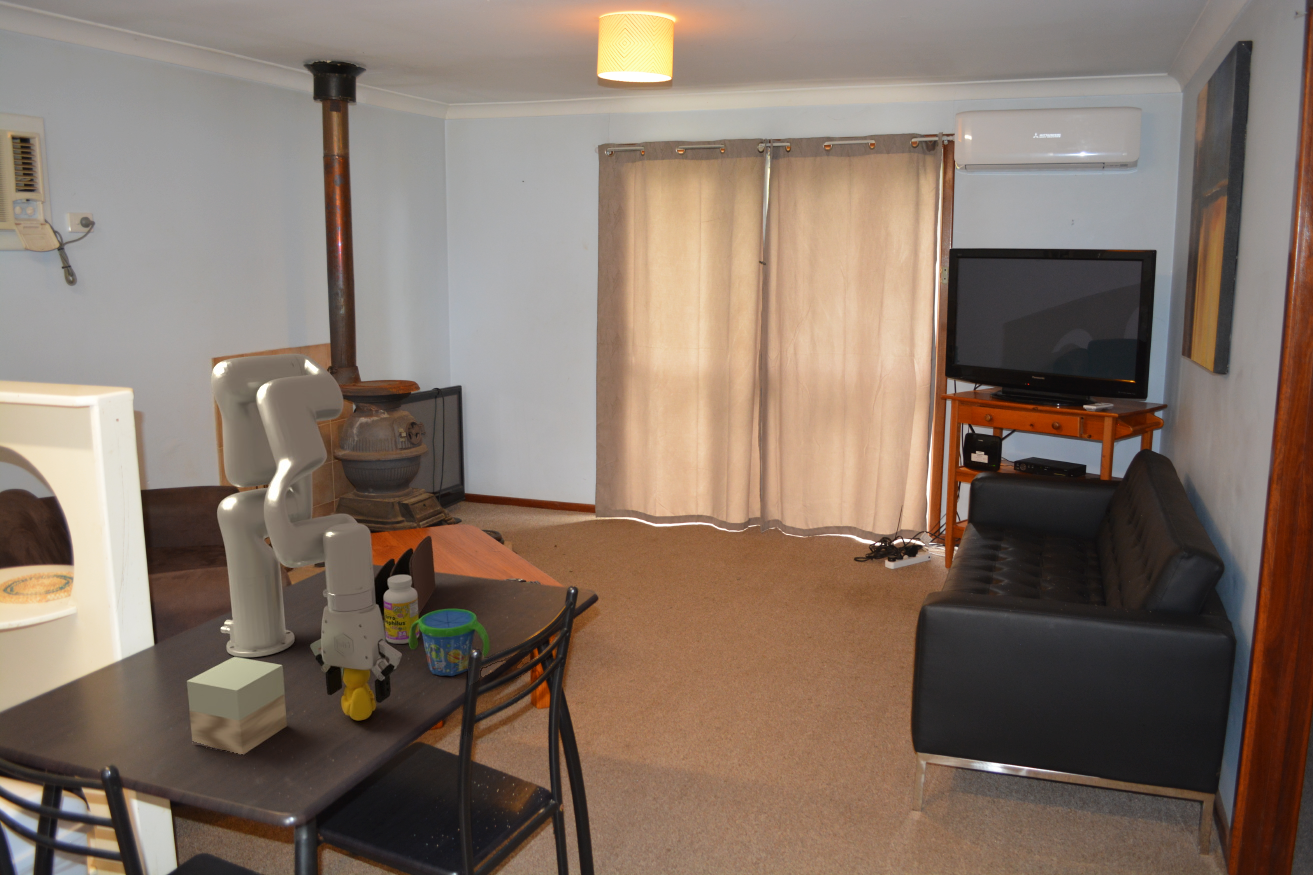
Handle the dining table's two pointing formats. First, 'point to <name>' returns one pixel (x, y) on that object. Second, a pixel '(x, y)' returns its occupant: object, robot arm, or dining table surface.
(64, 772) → the dining table surface
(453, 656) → the snack cup
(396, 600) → the supplement bottle
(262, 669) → the tower top
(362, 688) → the duckling
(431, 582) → the letter holder
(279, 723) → the tower base
